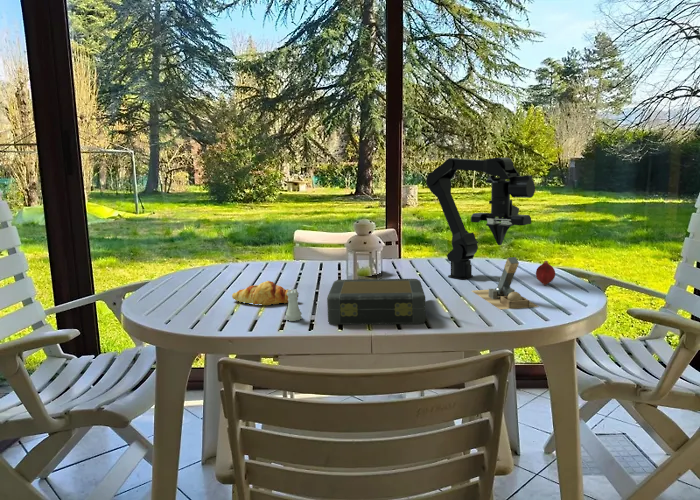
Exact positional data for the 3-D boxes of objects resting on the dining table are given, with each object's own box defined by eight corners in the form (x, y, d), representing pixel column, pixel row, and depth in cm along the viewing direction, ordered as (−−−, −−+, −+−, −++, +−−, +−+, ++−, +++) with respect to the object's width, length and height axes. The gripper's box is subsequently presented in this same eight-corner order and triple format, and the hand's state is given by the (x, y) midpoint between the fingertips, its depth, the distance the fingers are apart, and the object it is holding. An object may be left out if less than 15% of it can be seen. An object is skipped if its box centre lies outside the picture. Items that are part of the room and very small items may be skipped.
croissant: (229, 315, 146) (222, 295, 141) (239, 292, 154) (233, 273, 149) (297, 315, 142) (292, 295, 138) (304, 291, 150) (299, 272, 145)
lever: (493, 292, 139) (506, 257, 130) (504, 291, 140) (517, 256, 131) (500, 306, 135) (513, 271, 126) (511, 305, 136) (525, 270, 127)
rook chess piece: (285, 317, 131) (284, 288, 129) (302, 316, 131) (301, 287, 130) (285, 322, 126) (283, 292, 125) (302, 321, 126) (300, 291, 125)
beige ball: (504, 304, 130) (505, 292, 130) (511, 302, 133) (511, 289, 132) (517, 307, 128) (517, 294, 127) (523, 304, 130) (524, 291, 130)
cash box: (419, 303, 141) (419, 277, 140) (426, 325, 121) (426, 295, 120) (335, 304, 143) (334, 278, 142) (327, 326, 123) (326, 297, 122)
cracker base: (471, 295, 146) (471, 283, 146) (505, 293, 148) (505, 281, 147) (499, 314, 127) (500, 300, 126) (539, 311, 128) (539, 298, 128)
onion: (556, 287, 153) (557, 262, 152) (537, 287, 154) (538, 262, 153) (552, 283, 159) (553, 259, 157) (534, 282, 160) (534, 259, 158)
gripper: (540, 196, 153) (538, 244, 156) (488, 195, 167) (487, 239, 170) (523, 198, 146) (521, 249, 149) (470, 197, 160) (469, 243, 162)
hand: (499, 245), depth 158 cm, fingers closed
